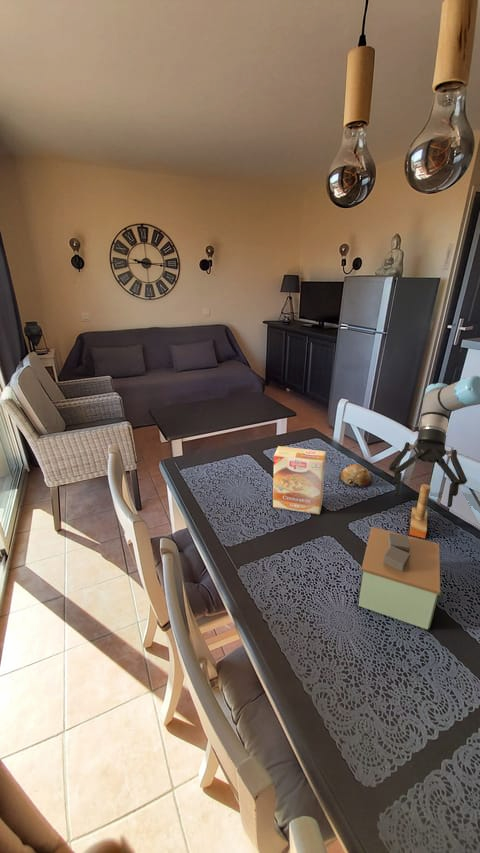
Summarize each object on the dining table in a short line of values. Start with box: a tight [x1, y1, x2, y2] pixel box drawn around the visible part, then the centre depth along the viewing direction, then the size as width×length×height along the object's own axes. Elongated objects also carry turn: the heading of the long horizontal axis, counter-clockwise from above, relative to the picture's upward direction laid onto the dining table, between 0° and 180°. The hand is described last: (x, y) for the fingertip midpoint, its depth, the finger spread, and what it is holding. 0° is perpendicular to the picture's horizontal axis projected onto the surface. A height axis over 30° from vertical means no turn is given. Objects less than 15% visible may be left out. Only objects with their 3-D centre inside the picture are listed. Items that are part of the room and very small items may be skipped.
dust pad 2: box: [384, 546, 410, 571], centre depth 77 cm, size 4×4×2 cm
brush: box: [408, 483, 431, 539], centre depth 102 cm, size 10×4×14 cm, turn 154°
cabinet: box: [358, 526, 441, 630], centre depth 81 cm, size 16×15×12 cm
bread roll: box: [340, 463, 371, 488], centre depth 128 cm, size 10×10×8 cm
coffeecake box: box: [272, 445, 327, 515], centre depth 113 cm, size 15×7×20 cm, turn 73°
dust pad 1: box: [388, 533, 410, 553], centre depth 81 cm, size 4×4×2 cm
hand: (422, 500), depth 103 cm, fingers open, 13 cm apart
